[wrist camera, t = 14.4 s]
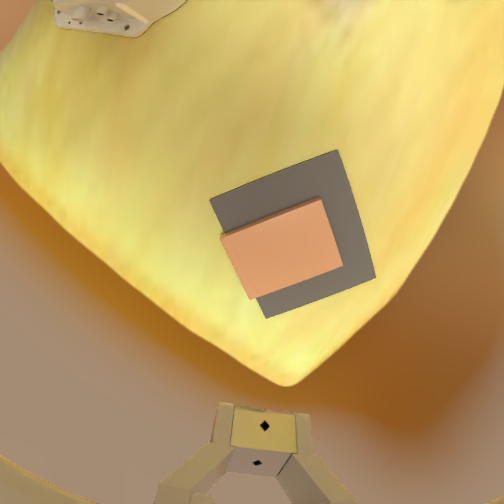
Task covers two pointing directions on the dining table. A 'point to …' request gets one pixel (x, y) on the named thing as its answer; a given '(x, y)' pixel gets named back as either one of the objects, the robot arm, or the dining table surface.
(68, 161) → the dining table surface
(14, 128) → the dining table surface
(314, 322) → the dining table surface
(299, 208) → the tile
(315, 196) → the mat
